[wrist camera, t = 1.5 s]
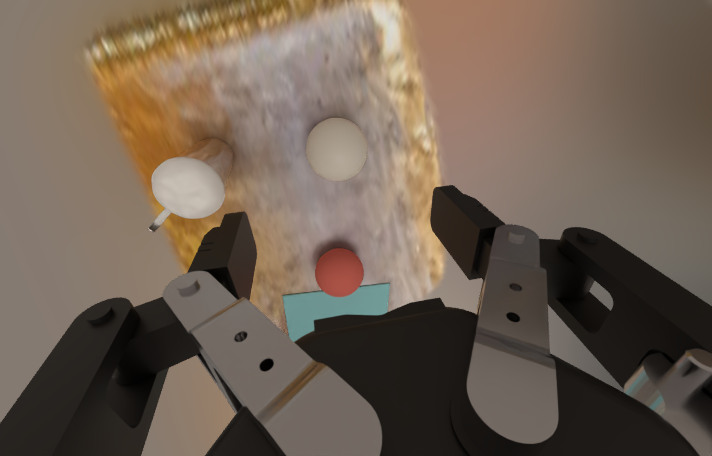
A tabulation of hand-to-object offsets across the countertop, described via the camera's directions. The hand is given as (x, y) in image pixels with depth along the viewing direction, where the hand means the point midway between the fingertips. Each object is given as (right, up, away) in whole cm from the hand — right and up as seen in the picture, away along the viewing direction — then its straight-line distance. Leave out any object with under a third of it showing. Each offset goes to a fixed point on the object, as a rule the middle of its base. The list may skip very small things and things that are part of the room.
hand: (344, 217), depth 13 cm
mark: (-2, -14, +29) cm, 33 cm away
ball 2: (-1, -5, +21) cm, 22 cm away
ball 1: (-1, +7, +14) cm, 15 cm away
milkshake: (-13, +6, +15) cm, 21 cm away
